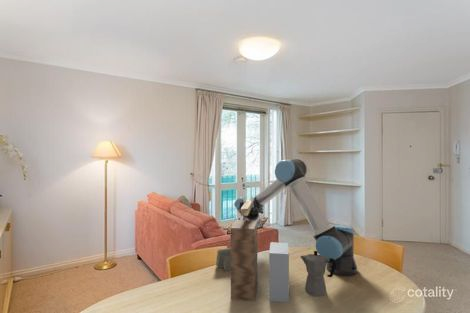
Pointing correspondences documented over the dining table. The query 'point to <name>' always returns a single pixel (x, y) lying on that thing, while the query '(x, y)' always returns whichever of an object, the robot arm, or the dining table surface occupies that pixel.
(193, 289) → the dining table surface
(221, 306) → the dining table surface
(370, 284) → the dining table surface
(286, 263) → the white rectangular block
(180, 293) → the dining table surface
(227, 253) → the digital clock
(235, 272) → the walnut plinth
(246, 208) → the beech bar
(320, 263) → the coffeepot
